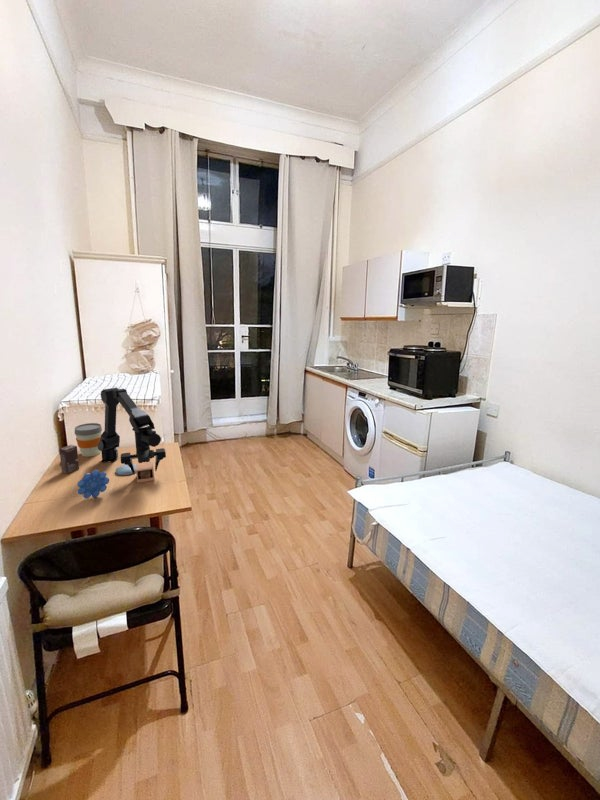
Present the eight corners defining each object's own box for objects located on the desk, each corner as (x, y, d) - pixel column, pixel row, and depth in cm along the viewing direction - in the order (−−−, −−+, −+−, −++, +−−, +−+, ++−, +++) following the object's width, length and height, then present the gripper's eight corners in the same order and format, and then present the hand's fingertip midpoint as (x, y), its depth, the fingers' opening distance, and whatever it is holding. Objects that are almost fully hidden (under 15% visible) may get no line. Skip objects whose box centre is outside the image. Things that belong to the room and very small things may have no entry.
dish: (113, 476, 165) (112, 473, 165) (119, 466, 174) (118, 464, 174) (136, 474, 167) (135, 472, 167) (140, 465, 176) (140, 463, 176)
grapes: (110, 489, 153) (107, 463, 150) (111, 496, 148) (108, 470, 145) (79, 495, 147) (75, 469, 144) (78, 503, 142) (74, 476, 139)
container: (137, 482, 160) (136, 470, 158) (137, 475, 166) (135, 464, 164) (154, 479, 163) (153, 467, 161) (153, 473, 169) (152, 461, 167)
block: (141, 480, 162) (140, 471, 161) (140, 476, 165) (140, 468, 164) (150, 479, 163) (149, 470, 162) (150, 475, 167) (149, 466, 166)
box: (68, 474, 166) (64, 450, 163) (61, 472, 167) (58, 448, 164) (80, 469, 171) (77, 445, 168) (74, 467, 173) (70, 444, 170)
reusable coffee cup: (96, 458, 183) (92, 431, 180) (72, 457, 183) (68, 430, 180) (109, 449, 195) (106, 423, 192) (86, 448, 196) (83, 422, 192)
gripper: (118, 450, 149) (122, 484, 153) (165, 444, 156) (168, 476, 160) (119, 441, 159) (122, 473, 162) (163, 436, 166) (165, 466, 170)
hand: (145, 472), depth 164 cm, fingers open, 9 cm apart
